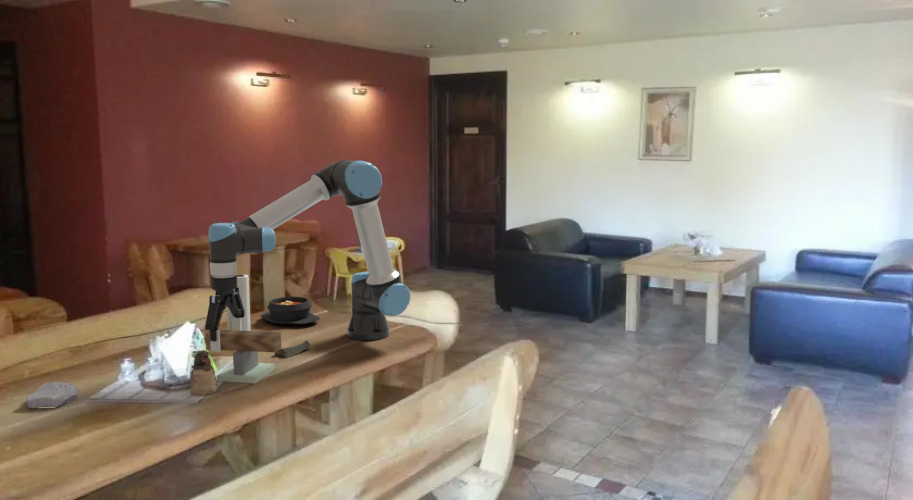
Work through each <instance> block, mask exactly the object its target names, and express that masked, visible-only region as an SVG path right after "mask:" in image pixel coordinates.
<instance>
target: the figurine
mask: <svg viewBox="0 0 913 500" xmlns="http://www.w3.org/2000/svg"><path fill="white" fill-rule="evenodd" d="M209 355H210V352H208V350H206V349H203V350H199V351H198V352H197V353H195V355H194V356H193V359H194V361H193V364H192V366H191V369H192V370H191V373H190V375H191V376H190V377H191V379H190V386H189V387H190V388H189V389H190V390H189V391H190V394H191V395H193V396H209V395H213V394H215V393H217V391H218V381H217V377H216V376H217V375H216V373H215V369H214V366H213V365H212V361H211V358H210V356H209Z"/></svg>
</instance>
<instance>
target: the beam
mask: <svg viewBox="0 0 913 500" xmlns="http://www.w3.org/2000/svg"><path fill="white" fill-rule="evenodd" d="M204 336H205V351H208V350H209V351H211V346H210V330H208V331H207V332H205V333H204ZM220 349H221V351H228V352H229V351H233V352H236V351H251V352H258V353H275V352H277V351H278V350H280V349H282V332H281V331H262V330H251V331H240V330H228V329H220Z"/></svg>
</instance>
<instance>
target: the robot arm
mask: <svg viewBox="0 0 913 500" xmlns="http://www.w3.org/2000/svg"><path fill="white" fill-rule="evenodd" d="M382 186H383V177H382V174H381V172H380V171H379V169H378V167H376V166H375V165H374V164H373V163H372V162H368V161H364V160H361V159H360V160H359V159H358V160H350V159H341V160H337V161H335V162H333V163H330V164H329V165H328V166H326V167H324V168H322V169H321V170H319V171H318V172H316V173H314V174H313V175H311V177H310V179H309V180H308V181H307V182H305V183H304V184H302V185H300V186H298V187H297V188H295V189H293V190H291V191H290V192H288V193H287V194H285V195H283V196H281V197H279V198H278V199H276V200H275V201H273V202H271V203H269V204H268V205H266V206H265V207H263V208H261V209H260V210H257V211H256V212H254V213H252V214H251V215H249V216H247V217H246V218H244V219H243V220H240V221H234V222H232V223H231V222H216V223H213V224H210V226H208V227H209V228H208V250H209V267H210V269H209V270H210V275H211V276H210V288H211V289H212V290H214V292H215V294H214V295H210V296H209V304H208V310H207V314H206V319H205V325H204V329H205V330H206V331H210V346H211V350H210V352H216V353H220V352H221V351H222V350H221V349H220V330H221V329H219V327H220V324H221V320H222V317H223V313H224V311H225V310H227V306H228V308H229V310H230V311H231V313H232V315H233V317H235V318H232V330H240V331H242V328H241V317H242V318H244V316H245V315H244V313H245V310H244V307H243V304H242V301H241V297H240V294H239V288H238V287H237V276H236V275H238V268H237V267H238V265H237V255H244V254H245V255H246V254H257V253H259V254H260V253H266V252H272V251H273V250H275V248H276V244H277V239H276V238H277V237H276V233H275V231H274V229H277V228H278V227H280V226H282V225H283V224H284V223H286V222H288V221H289V220H291V219H293V218H294V217H296V216H298V215H299V214H302V212H304V211H306V210H308V209H309V208H311V207H312V206H314V205H316V204H318V203H319V202H321V201H329V200H330V199H332V198H334V197H337V196H343V200H344V203H345V206H346V207H347V208H349V209H351V211H352V215H353V218H354V219H353V220H354V223H355V228H356V230H357V234H358V238H359V242H360V246H361V249H362V252H363V256H364V261H365V264H366V268H367V271H361V272H356V273H353V274H352V276H351V280H350V281H351V282H350V286H351V316H350V319H349V323H348V326H347V330H346V331H347V333H346V334H347V337H348V338H349V339H354V340H358V341H359V340H361V341H375V340H381V339H384V338H387V337H389V336H390V326H389V324H388V321H387V317H386V316H389V317H397V316H399V315H401V314H403V313H404V312H405V311H406V310H407V309H408V306H409V305H410V302H411V291H410V289H409V287H408V286H407V285H406V284H404V283H402V279H401V275H400V271H398V270H396V269H395V268H394V266H393V265H394V264H393V260H392V257H391V253H390V249H389V245H388V241H387V238H386V233H385V230H384V226H383V222H382V218H381V213H380V209H379V206H378V202H379V201H380V199H381V195H380V192H381V187H382ZM240 309H241V310H240Z"/></svg>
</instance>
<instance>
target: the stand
mask: <svg viewBox="0 0 913 500" xmlns="http://www.w3.org/2000/svg"><path fill="white" fill-rule="evenodd" d="M232 357H233V359H232V360H233V362H232V363H233V365H231V366H229V367H227V368H226V369H225V370H223V371H222V372H220V373H219V374H217V375H215V376H216V381H217V382H226V383H228V382H229V383H240V384H241V383H242V384H243V383H244V384H257V383H258V382H259V381H261V380H262V379H263V378H264V377H266V376H267V375H268V374H270V373H271V372H272V371H274V370H275V369H276V366H275V365H276V364H275V363H264V362H259V352H251V351H234V352H233V354H232Z"/></svg>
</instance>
